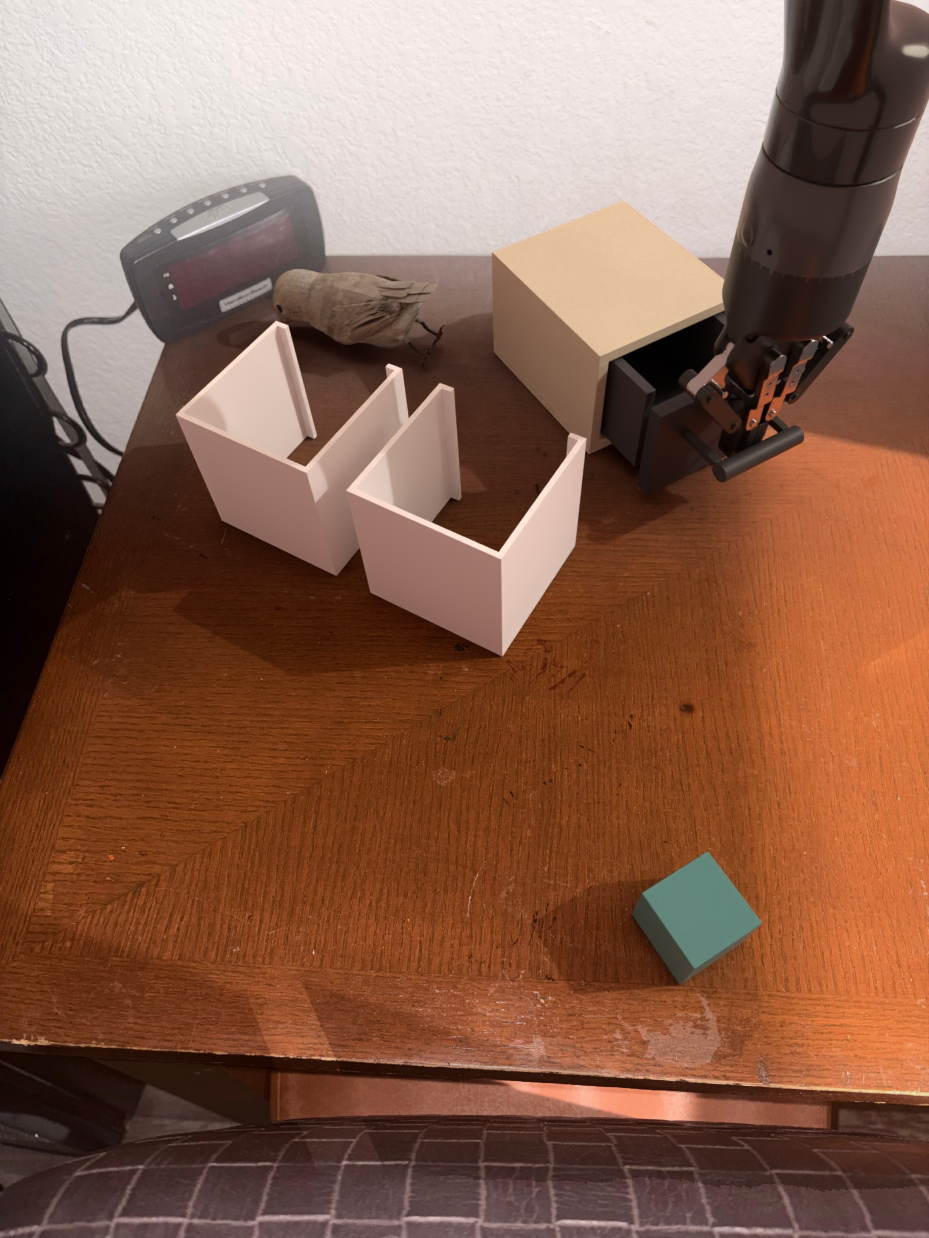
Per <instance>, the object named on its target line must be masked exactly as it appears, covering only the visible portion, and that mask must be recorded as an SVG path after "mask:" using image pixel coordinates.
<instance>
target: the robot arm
mask: <svg viewBox="0 0 929 1238" xmlns="http://www.w3.org/2000/svg"><path fill="white" fill-rule="evenodd" d="M782 52H783V53H782V62H781V68H780V72H779V75H778V78H777V82H776V86H775V89H774V93H773V99H772V101H771V105H770V110H769V114H768V117H767V122H766V126H765V130H764V134H763V139H762V143H761V146H760V149H759V152H758V154H757V157H756V160H755V162H754V164H753V167H752V170H751V173H750V175H749V178H748V181H747V185H746V188H745V193H744V197H743V201H742V205H741V210H740V213H739V218H738V221H737V224H736V225H737V226H736V229H735V234H734V238H733V243H732V246H731V251H730V255H729V257H728V263H727V267H726V271H725V276H724V278H723V279H724V283H723V288H722V299H723V304H724V309H725V315H726V324H725V326H724V328H723V330H722V332H721V334H720V335H719V337H718V339H717V340H716V342H715V345H714V355H715V357H714V358H713V359H712V360H711V361H710V362H709V363H708V364H707V365H706V367H705V368H704V369H703V370H702V371H701V372H700V373H699V374H697V373H696V372H695V371H694V370H692V369H689V370H687V371H685V372H684V373H683V374H682V375H681V376H680V378H679V381H678V384H679V385H680V386H681V388H682V389H683V390H684V391H685V392H686V393H687V394H688V395H689V396H690V397H691V398H692V399H693V400H694V401H695V402H696V403H697V404H698V405H699V407H700V408H701V409H702V410H703V411H704V412H705V413H706V414H707V415H708V416H710V417H711V418H712V419H713V420H714V421H715V422H716V423H717V424H718V425H719V426H720V427H721V428H723V429H722V432H721V436H720V439H719V443H718V448H719V450H721V451H722V452H723V453H724V454H725V455H726V456H725V457H727V458H729V457H731V456H733V455H735V454H737V453H739V452H741V451H743V450H745V449H747V448H749V447H751V446H753V445H755V444H757V443H759V442H761V441H763V440H764V437H765V436H763V435H764V434H765V431H766V428H767V425H768V422H769V421H770V420H772V419H773V418H775V417H776V416H778V414H779V413H780V411H781V408H782V406H783V404H784V403H786V404H788V405H793V404H795V403H796V402H798V401H799V399H800V398H801V397H802V396H803V395H804V393H805V392H806V391H807V390H808V389H809V388H810V387H811V385H812V384H813V383H814V382H815V380H817V378H818V377H819V375H820V374H822V372H823V371H824V370H825V369H826V367H828V365H829V364H830V362H831V361H832V360H833V359H834V358H835V357H836V355H837V354H838V353H839V352H840V351H841V349H842V348H843V347H844V346H845V345H846V344H847V342H848V341H849V340H850V338H852V336H853V334H854V333H855V327H854V326H853V325H851V324H850V323H849V322H847V320H848V318H849V316H850V315H851V313H852V310H853V308H854V305H855V303H856V300H857V297H858V295H859V294H860V290H861V288H862V285H863V283H864V280H865V277H866V275H867V273H868V270H869V268H870V265H871V263H872V260H873V257H874V255H875V253H876V249H877V247H878V245H879V242H880V239H881V237H882V235H883V232H884V230H885V227H886V225H887V223H888V219H889V216H890V215H891V211H892V209H893V205H894V202H895V200H896V199H895V198H896V195H897V191H898V186H899V181H900V178H901V175H902V171H903V168H904V165H905V162H906V160H907V157H908V154H909V151H910V149H911V147H912V144H913V141H914V139H915V136H916V133H917V131H918V128H919V126H920V124H921V121H922V119H923V116H924V113H925V111H926V108H927V105H928V103H929V12H927V11H926V10H924V9H923V8H921V7H918V6H916V5H914V4H912V3H908V2H906V1H905V2H904V1H901V0H783V51H782ZM725 386H726V390H725V389H724V387H725ZM724 398H725V399H724ZM742 400H743V401H744V402H745V403H744V402H743V401H742ZM768 426H769V425H768ZM767 429H768V428H767ZM766 432H767V431H766ZM765 435H766V434H765Z"/></svg>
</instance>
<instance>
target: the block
mask: <svg viewBox="0 0 929 1238" xmlns="http://www.w3.org/2000/svg"><path fill="white" fill-rule="evenodd" d="M631 916H632V917H633V918H634V920H635V921H636V923H637V925H638V926H639V928H640V929H641V930H642V932H643V933H644V935H645V936H646V938H647V939H648V940H649V942H650V943H651V945H652V947H653V948H654V949H655V951H656V953H657V954H658V956H659V957H660V958H661V960H662V961H663V963H664V964H665V966H666V967H667V969H668V970H669V972H670V973H671V975H672V976H673V978H674V979H675V981H676V982H677V984H678V985H679V986H681V985H683V984H684V983H686V982H687V981H689V980H690V979H692V978H693V977H694V976H696V975H698V974H700V972H702V971H703V970H705V969H707V968H708V967H709V966H711V965H712V964H714V963H716V962H717V961H718V960H720V959H721V958H723V957H724V956H726V955H727V954H729V953H730V952H732V951H733V950H734V949H736V948H738V947H739V946H740V945H742V944H743V943H744V942H746V940H747V939H748V938H750V937H751V935H752V934H754V933H755V931H756V930H757V929H759V928H760V926H762V924H763V922H762V920H761V919H760V918H759V916H757V914H756V912H755V911H754V910H753V908H752V907H751V906H750V905H749V903H748V902H747V901H746V899H745V898H744V897H743V895H742V894H741V893H740V892H739V890H738V889H737V888H736V886H735V885H734V884H733V882H732V880H731V879H730V878H729V877H728V875H727V874H726V873H725V871H724V869H722V868H721V867H720V865H719V864H718V862H717V861H716V860H715V858H714V857H713V856H712V855H711V853H710V852H709V851H705V852H704V853H702V854H701V855H699V856H698V857H695V858H694V859H692V860H691V861H690V862H688V863H686V864H685V865H683V866H682V867H680V868H679V869H677V870H676V871H674V872H672V873H671V874H669V875H667V876H666V877H664V878H663V879H661V880H660V881H658V882H656V883H655V884H653V885H652V886H650V887H649V888H647V889H645V890H644V891H642V892H641V893H640V896H639V898H638V901H637V902H636V905H635V907H634V909H633V911H632V913H631Z"/></svg>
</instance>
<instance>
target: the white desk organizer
mask: <svg viewBox="0 0 929 1238" xmlns="http://www.w3.org/2000/svg"><path fill="white" fill-rule="evenodd" d="M385 372H386V379H385V380H384V381H383V382H382V383H381V384H380V385H379V386H378V387H377V389H375V391H374V392H373V393H372V394H371V395H370V396H369V397H368V398H367V399H366V400H365V401H364V403H362V405H361V406H360V407H359V408H358V409H357V410H356V411H355V412H354V413H353V415H352V416H350V418H349V419H348V420H347V421H346V422H345V423H344V424H343V425H342V427H340V428H339V430H338V431H337V432H336V433H335V434H334V435H333V436H332V437H331V438H330V440H329V441H327V443H326V444H325V445H324V446H323V447H322V448H321V449H320V450H319V451H318V452H317V454H315V456H314V457H313V458H312V459H311V460H310V461H309V462H308V463H307V464H306V465H302V464H300V463H299V462H295V461H293V460H291V459H289V458H288V457H289V456H290V455H291V454H292V453H293V452H294V451H295V450H296V449H297V448H298V447H299V446H300V445H301V443H302V442H303V441H305V439H306V438H307V437H309V438H311V439H313V440H315V439H316V438H317V437H318V433H317V430H316V427H315V423H314V419H313V415H312V411H311V407H310V403H309V400H308V396H307V391H306V388H305V383H304V381H303V376H302V373H301V368H300V365H299V361H298V358H297V353H296V350H295V346H294V342H293V338H292V335H291V331H290V327H289V324H283V323H281V321H278V320H275V321H274V322H273V323H272V324H271V325H270V326H269V327H268V328H267V329H266V330H264V331H263V332H262V333H261V334H260V335H259V336H258V337H257V338H256V339H255V340H254V341H253V342H251V343H250V344H249V346H247V347H246V348H245V349H244V350H243V351H242V352H241V353H240V354H239V355H238V356H237V357H236V358H235V359H233V360H232V361H231V362H230V363H229V364H228V365H227V366H226V367H225V368H224V369H222V370H221V372H220V373H218V374H217V375H216V376H215V377H214V378H213V379H212V380H211V381H210V382H208V383H207V384H206V386H204V387H203V388H202V389H201V390H200V391H199V392H198V393H197V394H196V395H194V397H192V399H190V400H189V401H188V402H187V403H186V404H185V405H184V406H183V407H182V408H181V409H180V410H179V411H178V412H176V413H175V417H176V420H177V422H178V424H179V426H180V429H181V431H182V433H183V436H184V437H185V440H186V442H187V444H188V447H189V449H190V451H191V453H192V456H193V459H194V460H195V462H196V465H197V468H198V469H199V472H200V474H201V476H202V478H203V481H204V483H205V485H206V488H207V490H208V492H209V495H210V497H211V499H212V501H213V504H214V505H215V508H216V510H217V512H218V515H219V518H220V519H221V521H222V522H223V523H226V524H228V525H230V526H232V527H234V528H237V529H239V530H240V531H242V532H245V533H247V534H249V535H250V536H253V537H255V538H257V539H259V540H261V541H263V542H265V543H267V544H269V545H271V546H273V547H276V548H278V549H279V550H281V551H283V552H285V553H288V554H290V555H292V556H294V557H296V558H298V559H300V560H302V561H304V562H307V563H309V564H311V565H312V566H314V567H317V568H319V569H321V570H323V571H325V572H327V573H329V574H331V575H333V576H335V577H337V576H339V574H340V573H341V572H342V570H343V569H344V567H345V566H346V565H347V564H348V563H349V561H350V560H351V559H352V558H353V557H354V556H355V554H357V551H359V550H360V555H361V559H362V563H363V567H364V571H365V572H364V573H365V576H366V580H367V584H368V588H369V592H370V594H372V595H374V596H376V597H378V598H381V599H383V600H385V601H387V602H389V603H391V604H393V605H395V606H397V607H399V608H401V609H402V610H406V611H408V612H409V613H412V614H414V615H416V616H417V617H420V618H422V619H424V620H426V621H427V622H430V623H432V624H434V625H437V626H439V627H440V628H443V629H444V630H446V631H448V632H450V633H453V634H455V635H457V636H459V637H461V638H463V639H464V640H467V641H469V642H472V643H473V644H475V645H478V646H479V647H481V648H483V649H486V650H488V651H490V652H492V653H493V654H496V655H498V656H500V657H504V655H505V653H506V652H507V651H508V649H509V647H510V646H511V644H512V643H513V641H514V640H515V638H516V637H517V635H518V634H519V632H520V631H521V629H522V628H523V626H524V624H526V622H527V620H528V619H529V617H530V615H531V614H532V612H534V609H535V608H536V606H537V605H538V603H539V602H540V601H541V599H542V597H543V596H544V594H545V593H546V592H547V589H548V588H549V586H550V585H551V584H552V582H553V580H554V579H555V577H556V576H557V575H558V573H559V571H560V570H561V568H562V567H563V565H564V563H565V562H566V561H567V559H568V558H569V556H570V554H571V553H572V551H573V550H574V548H575V547H576V541H577V532H578V522H579V513H580V504H581V495H582V484H583V477H584V476H583V475H584V467H585V457H586V451H585V449H586V438H584V437H581V436H578V435H576V434H573V433H570V434H569V433H568V436H567V442H566V455H565V458H564V459H563V461H562V462H561V464H560V465H559V467H558V468H557V469H556V471H555V472H554V474H553V475H552V477H551V478H550V479H549V481H548V482H547V484H546V485H545V486H544V488H543V489H542V490H541V492H540V494H539V495H538V496H537V498H536V499H535V500H534V502H533V503H532V504H531V506H530V507H529V509H528V510H527V512H526V513H525V515H524V516H523V517H522V519H521V520H520V522H519V523H518V524H517V525H516V527H515V529H513V530H512V533H511V534H510V535H509V537H508V539H507V540H505V543H504V544H503V545H502V547H501V548H500V550H499V551H497V550H495V549H492V548H490V547H488V546H486V545H484V544H481V543H479V542H477V541H475V540H472V539H470V538H468V537H466V536H464V535H461V534H459V533H457V532H454V531H452V530H449V529H447V528H445V527H443V526H441V525H438V524H436V523H434V522H433V521H434V520H435V518H436V517H438V514H440V512H441V511H442V510H443V508H444V507H445V506H446V505H447V503H448V502H449V500H450V499H451V498H452V499H453V500H456V501H460V500H461V499H462V486H461V484H462V483H461V469H460V455H459V441H458V440H459V439H458V426H457V412H456V397H455V388H454V387H452V386H450V385H447V384H443V383H442V382H438V384H437V386H436V387H435V388H434V389H433V390H432V391H431V392H430V393H429V394H428V396H427V397H426V398H425V399H424V400H423V401H422V403H421V404H420V405H419V406H418V407H417V408H416V410H414V412H413V413H412V414H411V415H410V416H409V409H408V403H407V395H406V388H405V380H404V371H403V368H401V367H399V366H397V365H393V364H391V363H387V364H386V366H385Z"/></svg>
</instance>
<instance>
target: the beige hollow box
mask: <svg viewBox="0 0 929 1238" xmlns="http://www.w3.org/2000/svg"><path fill="white" fill-rule="evenodd" d="M724 279H725V278H723V277H721V276H720V275H719V274H718V273H717V272H715V271H714V270H713V269H712V268H710V267H709V266H708V265H707V264H705V263H704V262H703V261H701V260H700V258H698V257H696V256H695V255H694V254H693V253H691V252H690V251H689V250H688V249H686V248H685V247H683V246H682V244H680V243H679V242H677V241H676V240H675V239H674V238H673V237H671V236H670V235H668V233H666V232H665V231H664V230H662V229H661V228H660V227H658V226H657V225H656V224H654V223H653V222H652V221H651V220H650V219H649V218H647V217H646V216H645V215H643V214H642V213H641V212H639V211H638V210H637V209H636V208H634V207H633V206H632V205H630V204H629V203H628V202H627V201H625V200H621V201H618V202H616V203H613V204H611V205H608V206H606V207H603V208H601V209H597V210H595V211H594V212H590V213H588V214H585V215H582V216H580V217H578V218H575V219H572V220H570V221H567V222H566V223H563V224H560V225H557V226H554V227H552V228H550V229H547V230H544V231H542V232H539V233H536V234H534V235H532V236H529V237H527V238H524V239H521V240H519V241H516V242H514V243H511V244H509V245H505V246H504V247H501V248H498V249H496V250H493V251H492V252H491V280H492V283H491V285H492V286H491V287H492V332H493V333H492V335H493V337H492V338H493V339H492V340H493V353H494V354H495V355H496V356H497V357H498V358H499V360H501V361H502V362H503V364H504V365H505V366H506V367H507V368H508V369H509V370H510V372H512V373H513V375H514V376H515V377H516V378H517V379H518V380H519V381H520V382H521V383H522V384H523V386H525V388H526V389H527V390H528V391H529V392H530V393H531V394H532V395H533V396H534V397H535V398H536V400H537V401H539V403H540V404H541V405H542V406H543V407H544V408H545V409H546V410H547V411H548V412H549V413H550V414H551V415H552V416H553V418H554V419H555V420H556V421H557V422H558V423H559V424H560V425H561V426H562V427H563V429H565V430H566V432H567V433H568V435H569V434H570V433H573V434H576V435H578V436H581V437H584V438H586V449H585V453H587V454H588V455H591V454H593V453H595V452H597V451H599V450H602V449H604V448H606V447H608V446H610V445H613V444H612V443H611V442H610V441H609V440H608V439H607V438H606V437H605V436H604V435H603V434H602V433H601V432H600V429H601V421H602V412H603V404H604V396H605V388H606V380H607V372H608V363H609V361H611V360H614V359H616V358H618V357H620V356H623V355H625V354H627V353H629V352H632V351H634V350H636V349H638V348H641V347H643V346H645V345H647V344H650V343H652V342H654V341H656V340H659V339H661V338H663V337H665V336H668V335H670V334H672V333H674V332H677V331H679V330H681V329H683V328H686V327H688V326H690V325H692V324H695V323H697V322H699V321H701V320H704V319H706V318H708V317H710V316H713V315H715V314H717V313H719V312H722V313H723V314H724V315H725V309H724V304H723V299H722V288H723V283H724ZM725 316H726V315H725Z"/></svg>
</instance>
